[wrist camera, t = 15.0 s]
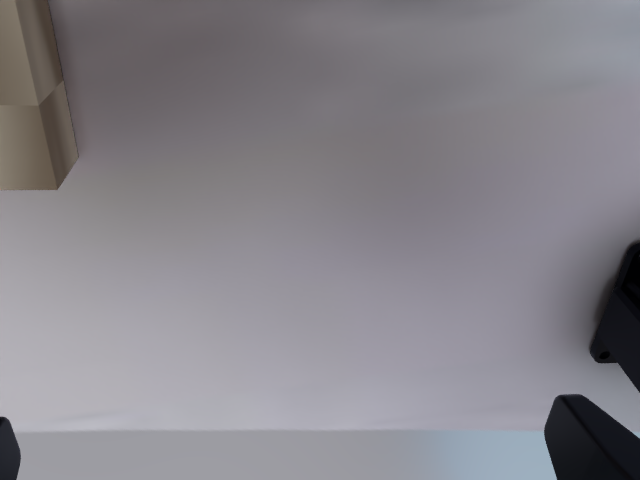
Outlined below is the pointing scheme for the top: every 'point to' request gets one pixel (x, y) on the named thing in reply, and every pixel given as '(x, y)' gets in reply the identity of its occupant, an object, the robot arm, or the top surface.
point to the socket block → (32, 101)
